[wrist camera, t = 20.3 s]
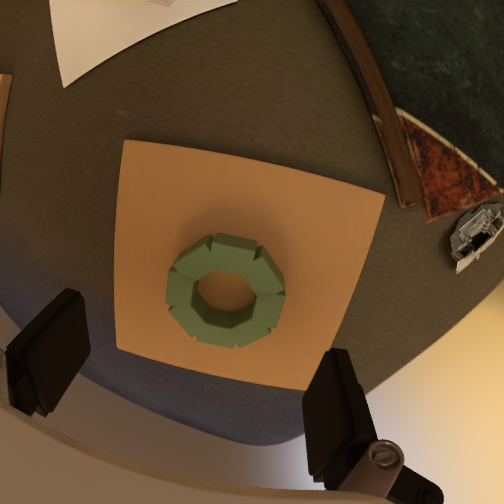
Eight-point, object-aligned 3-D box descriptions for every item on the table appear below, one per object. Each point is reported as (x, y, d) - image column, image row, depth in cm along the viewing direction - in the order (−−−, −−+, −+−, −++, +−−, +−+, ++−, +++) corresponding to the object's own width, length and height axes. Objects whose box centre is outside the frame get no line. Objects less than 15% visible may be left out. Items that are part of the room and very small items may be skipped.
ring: (171, 318, 17) (163, 333, 16) (181, 224, 15) (172, 233, 14) (267, 339, 17) (267, 356, 16) (293, 248, 15) (296, 260, 14)
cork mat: (119, 345, 19) (116, 348, 19) (127, 139, 14) (124, 139, 14) (308, 387, 19) (309, 391, 19) (383, 193, 14) (386, 195, 14)
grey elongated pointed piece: (436, 238, 14) (429, 261, 17) (462, 267, 13) (450, 286, 15) (489, 188, 14) (480, 214, 16) (513, 212, 13) (500, 236, 15)
